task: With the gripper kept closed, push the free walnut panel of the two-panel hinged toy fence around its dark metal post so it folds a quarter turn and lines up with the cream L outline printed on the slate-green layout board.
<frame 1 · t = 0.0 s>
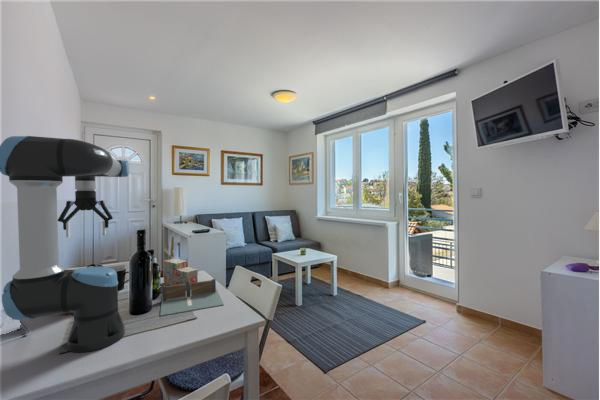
hand: (86, 235, 128), 28 cm above the table, fingers open, 13 cm apart
stack of blocks: (180, 285, 142), on the table
fence gate: (203, 287, 128), point 4 cm above the table, hinge at 0.0°
layout board: (191, 300, 122), on the table
coffee mug: (118, 290, 136), on the table
brown flower pot: (78, 308, 114), on the table
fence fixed: (188, 297, 126), resting on layout board
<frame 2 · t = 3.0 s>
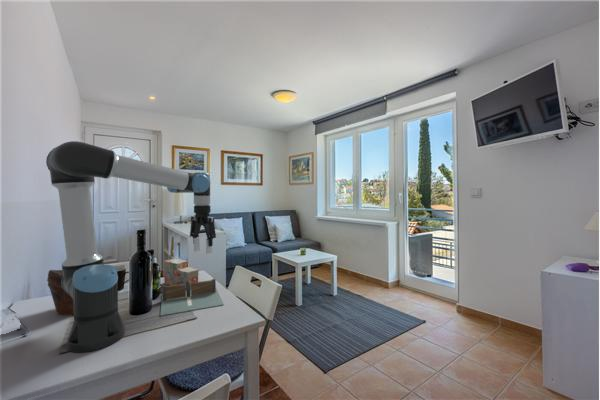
hand: (202, 251, 132), 19 cm above the table, fingers open, 8 cm apart
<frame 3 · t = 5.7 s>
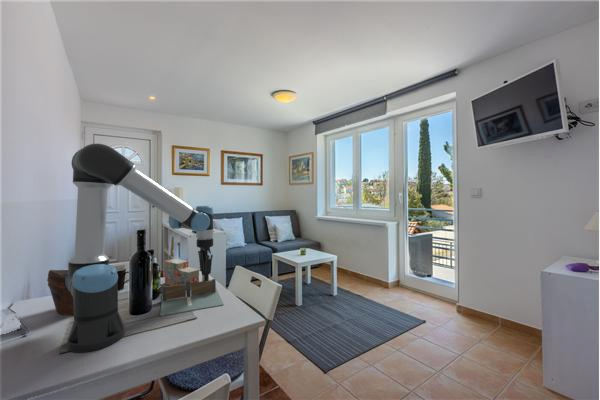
hand: (205, 287, 131), 3 cm above the table, fingers closed
fence gate: (203, 287, 128), point 4 cm above the table, hinge at -0.1°, touching gripper
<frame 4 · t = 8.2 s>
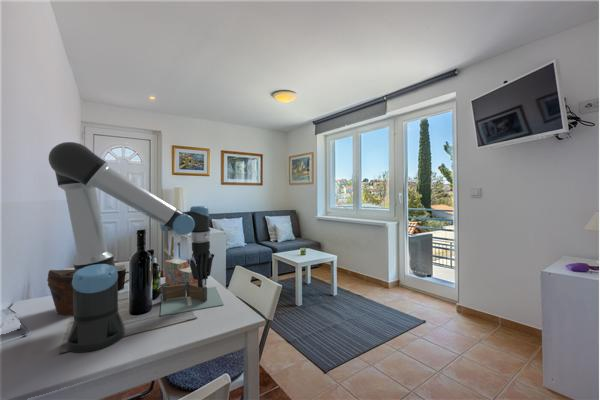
hand: (202, 293, 122), 3 cm above the table, fingers closed
fence gate: (197, 291, 122), point 4 cm above the table, hinge at -57.0°, touching gripper
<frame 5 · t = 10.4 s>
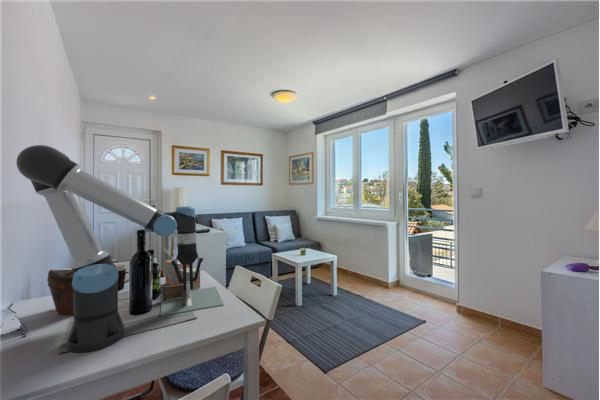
hand: (188, 297, 118), 3 cm above the table, fingers closed
fence gate: (185, 294, 119), point 4 cm above the table, hinge at -101.6°, touching gripper
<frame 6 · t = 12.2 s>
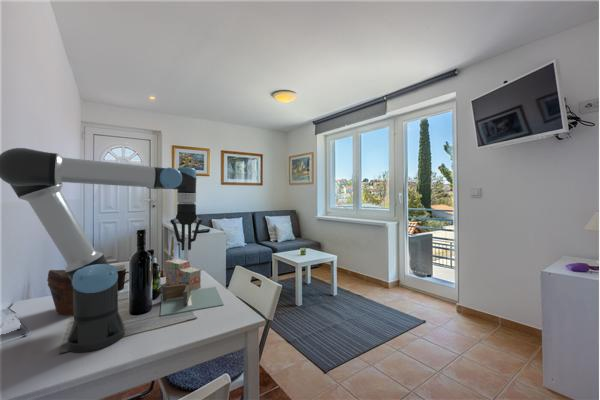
hand: (186, 257, 119), 20 cm above the table, fingers closed
fence gate: (186, 294, 119), point 4 cm above the table, hinge at -98.9°
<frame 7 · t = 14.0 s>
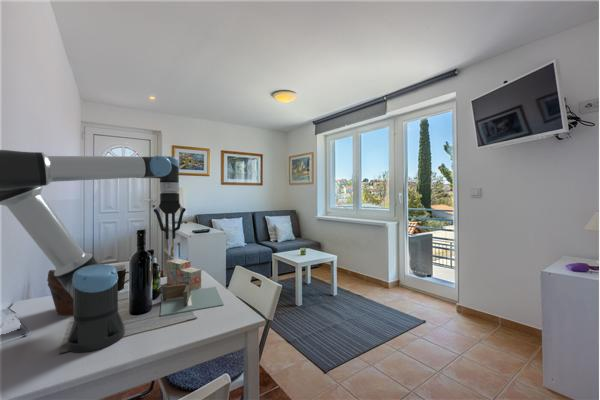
hand: (170, 246, 120), 24 cm above the table, fingers closed
at the end: fence gate at -99° (first picture: +0°) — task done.
